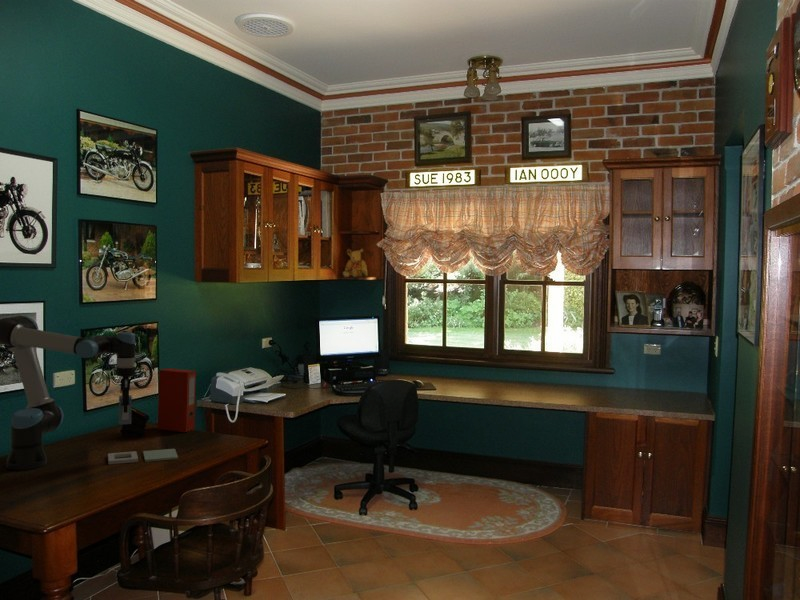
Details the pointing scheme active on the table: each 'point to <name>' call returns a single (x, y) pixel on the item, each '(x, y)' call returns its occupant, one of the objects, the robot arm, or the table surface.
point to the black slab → (135, 425)
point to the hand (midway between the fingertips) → (125, 417)
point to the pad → (160, 455)
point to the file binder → (176, 400)
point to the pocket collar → (122, 460)
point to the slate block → (121, 410)
